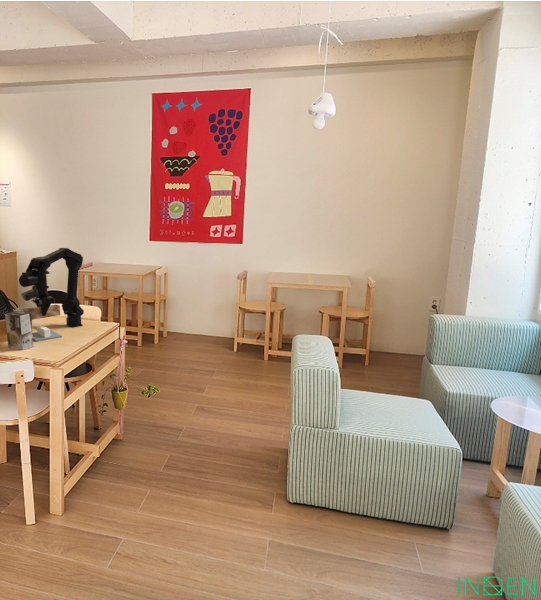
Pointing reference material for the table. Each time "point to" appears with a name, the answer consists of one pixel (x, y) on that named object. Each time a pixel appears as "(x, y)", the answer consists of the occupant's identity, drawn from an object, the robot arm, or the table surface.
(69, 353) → the table surface
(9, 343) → the coffee box
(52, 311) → the beam
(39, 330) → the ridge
